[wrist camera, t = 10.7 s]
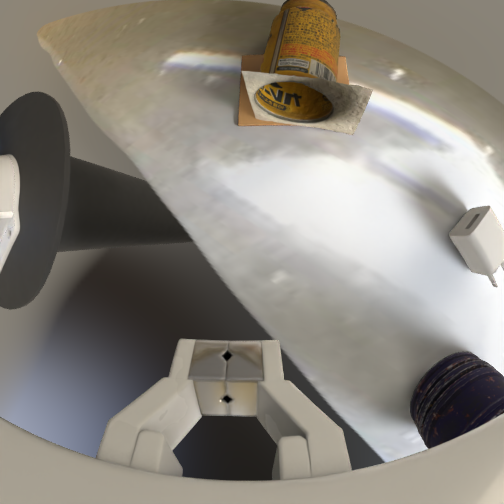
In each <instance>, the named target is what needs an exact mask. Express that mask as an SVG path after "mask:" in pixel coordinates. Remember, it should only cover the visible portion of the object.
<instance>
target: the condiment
mask: <svg viewBox="0 0 504 504" xmlns="http://www.w3.org/2000/svg"><path fill="white" fill-rule="evenodd" d="M336 17H337V15H336V12H335V10H334V9H333V7H332V6H331V5H330V4H328V2H327V1H325V0H287V1H285V2H284V3H283V5H282V7H281V11H280V13H279V14H278V15H277V16H276V17H275V19H274V20H273V23H272V26H271V31H270V36H269V39H268V42H267V46H266V50H265V53H264V58H263V62H262V64H261V69H260V72H251V71H242V74H243V77H244V81H245V85H246V89H247V92H248V96H249V99H250V103H251V106H252V109H253V111H254V114H255V118H256V119H259V120H264V121H273V122H277V123H285V124H292V125H298V126H308V127H314V128H316V127H317V128H321V129H326V130H333V131H335V132H342V133H346V134H349V135H353V134H354V132H355V130H356V128H357V125H358V123H359V122H360V119H361V117H362V115H363V113H364V111H365V108H366V106H367V104H368V101H369V99H370V96H371V93H372V91H373V90H372V89H369V88H365V87H361V86H358V85H348V84H343V83H338V82H337V75H338V59H339V45H340V30H339V28H338V25H337V22H336V19H337V18H336Z"/></svg>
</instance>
